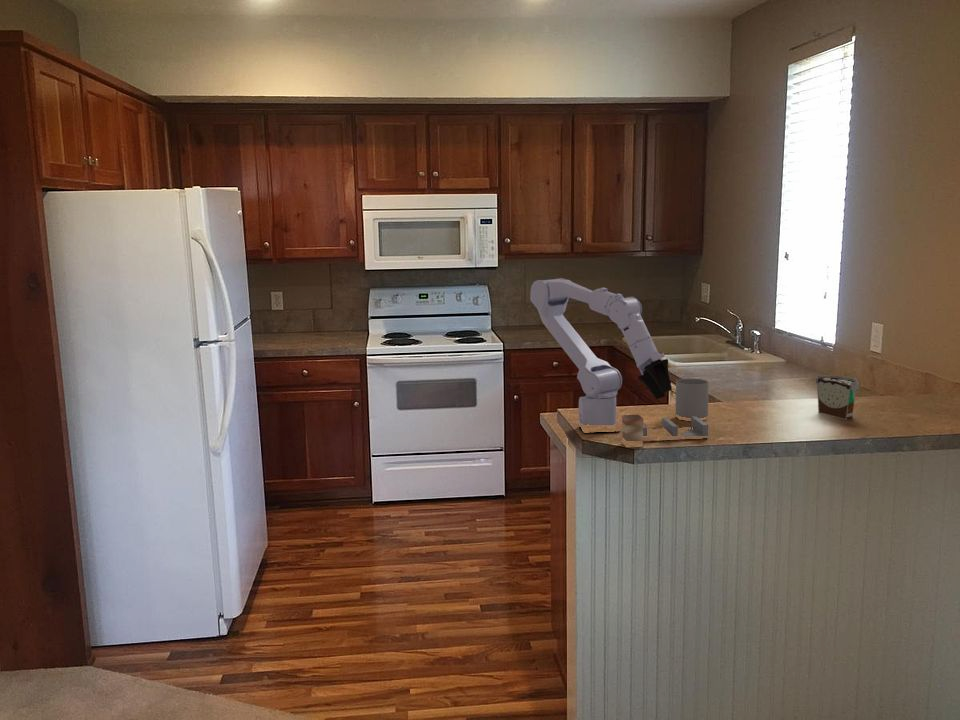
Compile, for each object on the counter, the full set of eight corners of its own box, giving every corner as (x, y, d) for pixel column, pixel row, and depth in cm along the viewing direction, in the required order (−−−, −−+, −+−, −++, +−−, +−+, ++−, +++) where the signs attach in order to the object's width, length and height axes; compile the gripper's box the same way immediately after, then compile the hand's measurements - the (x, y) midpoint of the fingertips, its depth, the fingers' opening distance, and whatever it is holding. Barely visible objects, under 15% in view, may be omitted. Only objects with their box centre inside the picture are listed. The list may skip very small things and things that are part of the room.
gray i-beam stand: (642, 442, 186) (642, 427, 186) (633, 432, 195) (633, 419, 195) (707, 439, 187) (708, 424, 187) (695, 429, 196) (695, 416, 195)
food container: (868, 418, 202) (870, 380, 200) (850, 421, 199) (852, 383, 198) (831, 409, 213) (832, 373, 211) (814, 411, 211) (815, 375, 209)
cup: (681, 413, 214) (681, 377, 213) (711, 416, 210) (711, 379, 208) (671, 420, 207) (672, 383, 205) (702, 423, 203) (703, 385, 201)
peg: (626, 448, 182) (626, 419, 181) (622, 443, 186) (622, 415, 185) (643, 447, 182) (643, 418, 181) (639, 442, 186) (639, 414, 185)
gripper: (661, 328, 180) (686, 381, 177) (649, 345, 194) (672, 394, 191) (634, 339, 179) (658, 393, 176) (624, 355, 193) (646, 405, 190)
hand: (664, 394), depth 183 cm, fingers open, 7 cm apart
